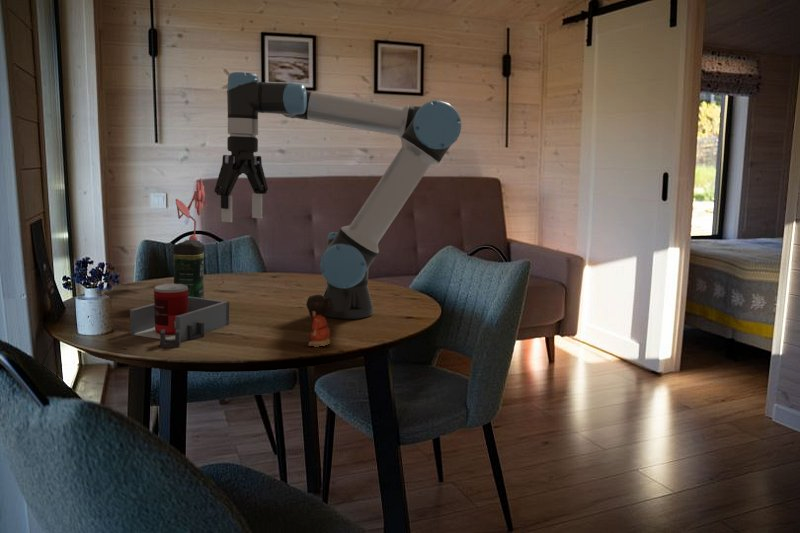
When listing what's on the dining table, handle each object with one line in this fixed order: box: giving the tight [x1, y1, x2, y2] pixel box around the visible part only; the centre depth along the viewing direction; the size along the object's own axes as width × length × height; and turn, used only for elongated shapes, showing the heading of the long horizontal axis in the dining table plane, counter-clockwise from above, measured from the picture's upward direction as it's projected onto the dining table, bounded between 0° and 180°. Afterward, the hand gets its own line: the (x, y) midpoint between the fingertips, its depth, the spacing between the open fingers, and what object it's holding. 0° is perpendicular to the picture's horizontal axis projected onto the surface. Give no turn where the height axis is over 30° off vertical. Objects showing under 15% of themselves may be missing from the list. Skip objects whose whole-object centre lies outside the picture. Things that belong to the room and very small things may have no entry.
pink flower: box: [175, 178, 225, 286], centre depth 221 cm, size 15×26×35 cm, turn 7°
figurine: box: [305, 294, 334, 348], centre depth 156 cm, size 6×6×12 cm
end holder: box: [129, 296, 230, 343], centre depth 164 cm, size 14×19×6 cm
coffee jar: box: [173, 239, 205, 298], centre depth 191 cm, size 10×8×19 cm
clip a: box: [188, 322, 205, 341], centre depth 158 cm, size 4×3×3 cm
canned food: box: [153, 283, 188, 335], centre depth 161 cm, size 8×8×11 cm
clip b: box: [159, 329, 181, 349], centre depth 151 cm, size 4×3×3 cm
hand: (242, 220), depth 171 cm, fingers open, 13 cm apart
